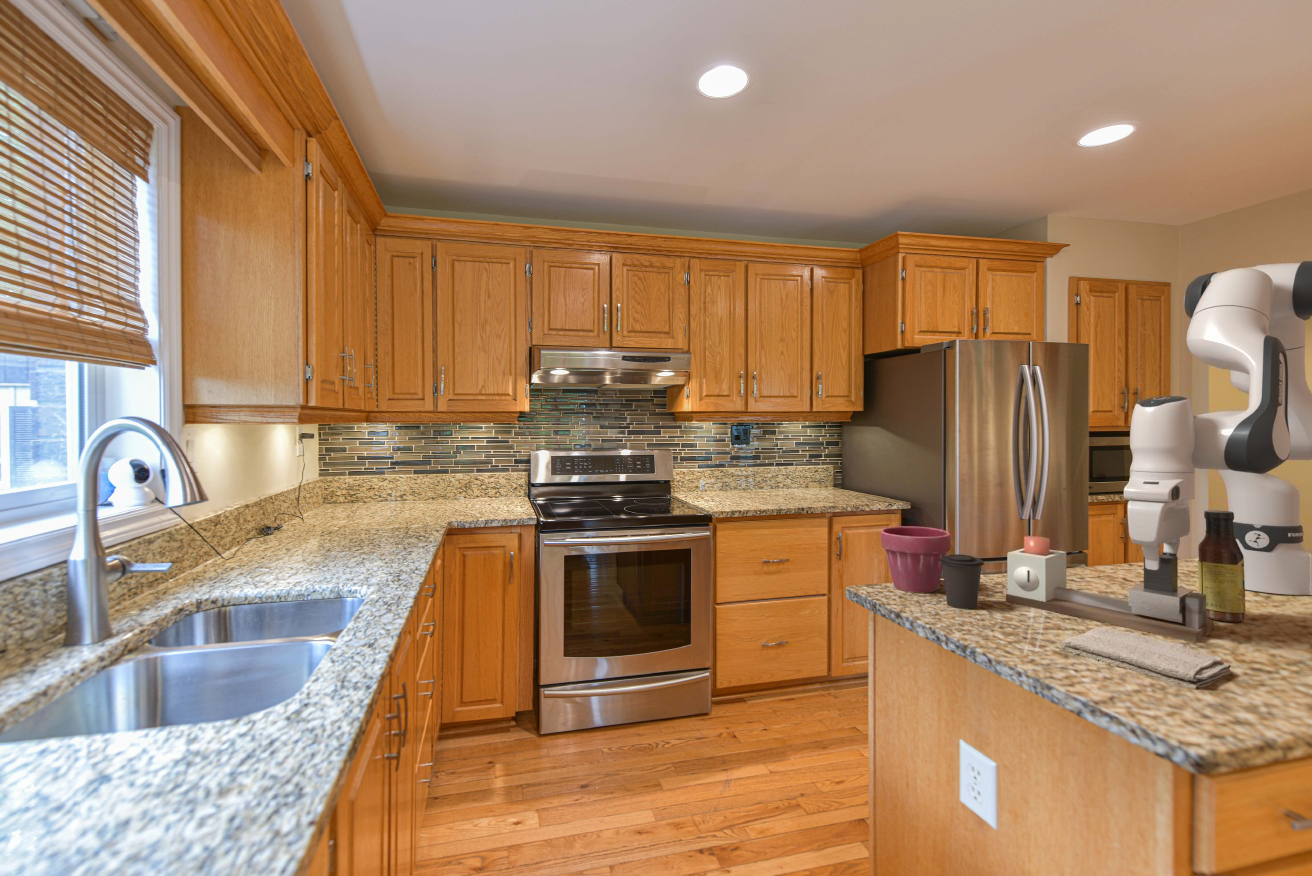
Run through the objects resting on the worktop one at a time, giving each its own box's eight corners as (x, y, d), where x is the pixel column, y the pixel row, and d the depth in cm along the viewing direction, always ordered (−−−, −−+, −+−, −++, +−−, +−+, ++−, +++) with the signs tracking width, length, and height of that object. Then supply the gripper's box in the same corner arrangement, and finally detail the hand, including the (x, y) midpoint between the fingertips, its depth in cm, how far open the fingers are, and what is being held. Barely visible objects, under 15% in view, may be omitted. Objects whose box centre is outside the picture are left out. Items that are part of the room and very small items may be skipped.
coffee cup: (983, 613, 114) (983, 561, 114) (937, 607, 119) (936, 557, 119) (985, 603, 121) (985, 554, 121) (941, 597, 126) (941, 550, 125)
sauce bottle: (1254, 624, 107) (1255, 514, 106) (1214, 622, 108) (1214, 513, 108) (1227, 613, 113) (1227, 509, 113) (1189, 612, 114) (1189, 508, 114)
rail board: (1029, 592, 129) (1029, 562, 128) (1213, 628, 104) (1214, 592, 104) (1005, 601, 122) (1005, 570, 122) (1196, 642, 98) (1196, 603, 98)
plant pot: (880, 592, 130) (879, 534, 130) (881, 577, 143) (881, 524, 143) (953, 599, 124) (953, 538, 124) (948, 583, 137) (948, 527, 137)
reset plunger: (1029, 561, 125) (1029, 535, 125) (1053, 565, 122) (1053, 538, 122) (1020, 564, 123) (1020, 537, 123) (1044, 568, 119) (1044, 540, 119)
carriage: (1143, 606, 111) (1143, 550, 111) (1192, 615, 106) (1192, 556, 105) (1128, 614, 107) (1128, 555, 107) (1179, 624, 101) (1179, 562, 101)
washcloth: (1202, 695, 80) (1202, 673, 80) (1057, 653, 95) (1057, 634, 95) (1235, 677, 86) (1235, 655, 86) (1094, 639, 101) (1094, 621, 101)
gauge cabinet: (1029, 593, 128) (1029, 546, 128) (1066, 600, 122) (1066, 552, 122) (1006, 601, 122) (1006, 553, 122) (1044, 609, 116) (1044, 558, 116)
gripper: (1157, 483, 114) (1157, 555, 114) (1119, 489, 102) (1119, 569, 102) (1201, 486, 109) (1201, 561, 109) (1166, 492, 97) (1166, 576, 97)
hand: (1161, 565), depth 106 cm, fingers open, 8 cm apart
